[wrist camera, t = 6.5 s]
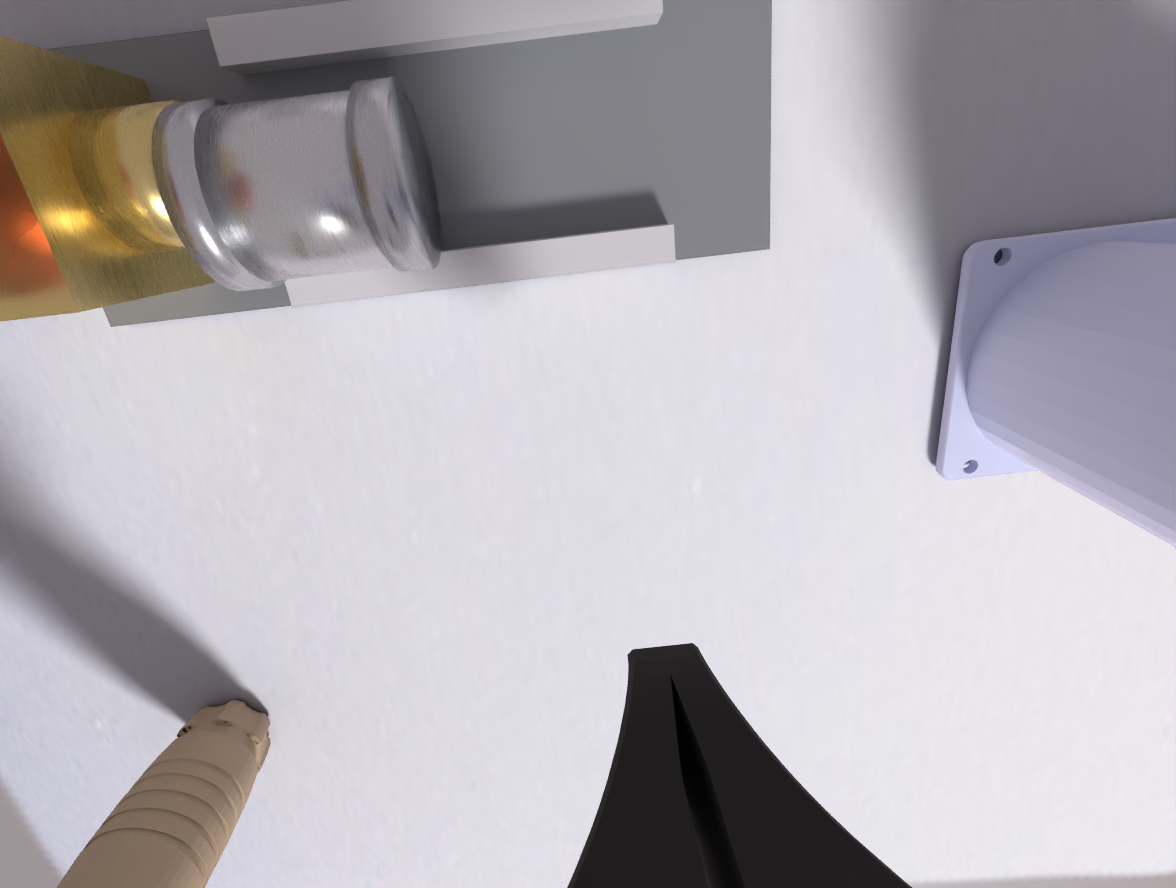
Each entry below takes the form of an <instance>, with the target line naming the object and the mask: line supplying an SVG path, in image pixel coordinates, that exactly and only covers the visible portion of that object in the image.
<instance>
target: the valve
mask: <svg viewBox="0 0 1176 888" xmlns="http://www.w3.org/2000/svg"><path fill="white" fill-rule="evenodd" d="M178 102H187V101H185V100H180V99H179V100H170V101H162V102H152V99H151V96H150V93H149V90H148V87H147V84H146V81H145V80H144V79H141V78H137V77H134V76H131V75H127V74H124V73H121V72H117V71H114V70H111V69H107V68H104V67H101V66H98V65H94V64H91V63H88V62H84V61H81V60H78V59H74V58H71V57H68V56H64V55H61V54H58V53H55V52H51V51H48V50H45V49H41V48H38V47H35V46H31V45H28V44H25V43H22V42H18V41H15V40H12V39H8V38H5V37H2V36H0V321H8V320H16V319H25V318H33V317H41V316H50V315H58V314H67V313H75V312H81V311H86V310H91V309H95V308H100V307H105V306H109V305H114V304H119V303H123V302H128V301H133V300H137V299H142V298H147V297H151V296H156V295H160V294H165V293H170V292H174V291H179V290H184V289H188V288H193V287H198V286H202V285H207V284H212V283H215V282H214V279H212V278H211V277H210V276H209V275H208V274H207V273H206V272H205V271H204V270H203V269H202V268H201V267H200V266H199V265H198V264H197V263H196V261H195V260H194V259H193V258H192V257H191V255H190V254H189V252H188V251H187V249H186V248H185V247H184V245H183V243H182V242H181V240H180V238H179V237H178V235H177V233H176V231H175V229H174V227H173V225H172V223H171V221H170V219H169V217H168V214H167V212H166V210H165V207H164V205H163V202H162V199H161V196H160V193H159V189H158V186H157V182H156V178H155V173H154V168H153V160H152V134H153V128H154V124H155V121H156V119H157V117H158V115H159V113H160V112H161V111H162V110H163V108H164V107H166V106H168V105H169V104H173V103H178Z"/></svg>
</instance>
